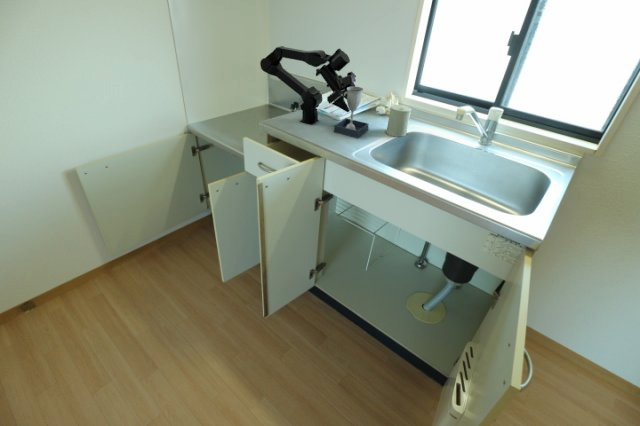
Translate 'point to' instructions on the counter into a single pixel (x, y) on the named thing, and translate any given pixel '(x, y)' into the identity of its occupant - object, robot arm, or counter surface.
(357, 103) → the chalice
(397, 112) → the can
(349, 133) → the bin
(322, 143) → the counter surface
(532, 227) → the counter surface
